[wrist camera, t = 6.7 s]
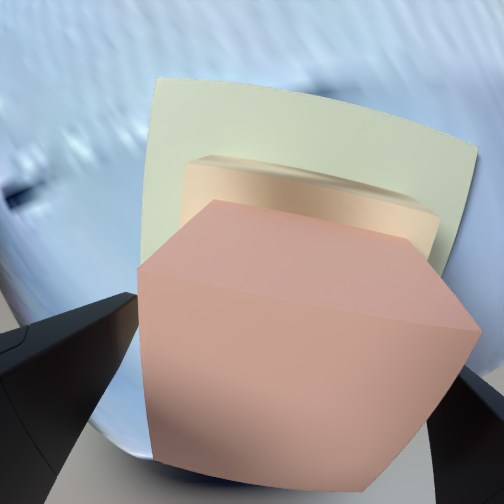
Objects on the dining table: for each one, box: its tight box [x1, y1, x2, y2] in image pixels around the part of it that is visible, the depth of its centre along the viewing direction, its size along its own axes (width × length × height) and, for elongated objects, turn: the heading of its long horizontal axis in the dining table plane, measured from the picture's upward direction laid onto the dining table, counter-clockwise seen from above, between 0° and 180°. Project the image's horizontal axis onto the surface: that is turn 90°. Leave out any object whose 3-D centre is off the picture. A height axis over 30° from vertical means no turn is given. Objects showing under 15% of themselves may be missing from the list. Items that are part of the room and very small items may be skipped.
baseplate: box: [140, 78, 479, 277], centre depth 14 cm, size 14×14×1 cm
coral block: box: [138, 199, 483, 492], centre depth 8 cm, size 6×6×5 cm
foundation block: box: [179, 154, 441, 261], centre depth 12 cm, size 8×8×4 cm
